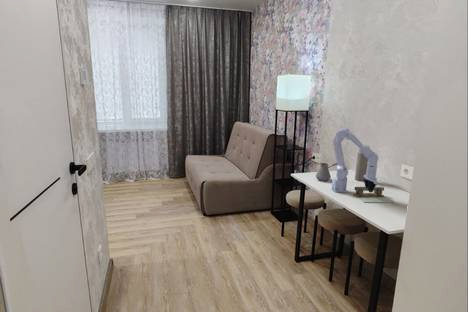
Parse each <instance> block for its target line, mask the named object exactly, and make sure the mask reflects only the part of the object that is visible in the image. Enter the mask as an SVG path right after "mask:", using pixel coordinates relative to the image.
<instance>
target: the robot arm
mask: <svg viewBox="0 0 468 312" xmlns="http://www.w3.org/2000/svg"><path fill="white" fill-rule="evenodd" d="M345 139H346V140H349V141H351V142H352V143H354V145H355V146H357V147H358V148H359V149H360V152H361V153H362V154H363V155H364V156H365V157H366V158H368V164H367V172H366V175H364V178H366V179H364V181H363V182H364V187H369V191H368V193H374V191H373V190H374V188H375V187H377V185H378V184H379V181H378V178H377V177H376V176H377V169H378V161H379V155H378V153H376V152H375V151H373V150H372V149H371V148H370V146H369V145H367V144H363V142H361V140H360V139H359V138H358V137H357V136H356V135H355V134H354V133H353V131H351V130H350V129H349V128H347V127H342V128H341V129H339V130H338V131H337V132H336V133H335V136H334V138H333V141H332V142H333V150H334V155H335V160H336V163H337V165H336V177H335V178H332V179H331V180H332V181H331V187H330V189H331V190H332V191H333V192H334V193H349V191H348V190H347V187H348V186H347V185H348V175H349V170H348V168H347V166H346V164H345V158H344V152H343V146H342V143H343V140H345Z"/></svg>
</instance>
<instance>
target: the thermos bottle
mask: <svg viewBox="0 0 468 312" xmlns="http://www.w3.org/2000/svg"><path fill="white" fill-rule="evenodd" d="M367 167H368V158H366V157H365V156H364V155H363V154H362V153H361V152H360V148H359V150H358V152H357V157H356V165H355V173H354V180H355V181H357V182H364V179H366V178H364V175H366V174H367Z"/></svg>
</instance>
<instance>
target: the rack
mask: <svg viewBox="0 0 468 312" xmlns="http://www.w3.org/2000/svg"><path fill="white" fill-rule="evenodd" d="M352 195H353V196H354V197H355V198H385V195H384V194H383V191H382V189H378V191H373V192H364V191H363V189H359V191H356V190H355V192H353V193H352Z"/></svg>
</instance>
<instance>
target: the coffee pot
mask: <svg viewBox="0 0 468 312" xmlns="http://www.w3.org/2000/svg"><path fill="white" fill-rule="evenodd" d="M319 164H320V167H319V169H318V170H317V172H316V174H315V177H316V179H317V180H318V181H321V182H327V181H329V180H330V179H331V173H330V171H329V168H331V167H333V166H337V162H336V163H333V164H332V165H330V164H329V163H326V162H320V163H319Z"/></svg>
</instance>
